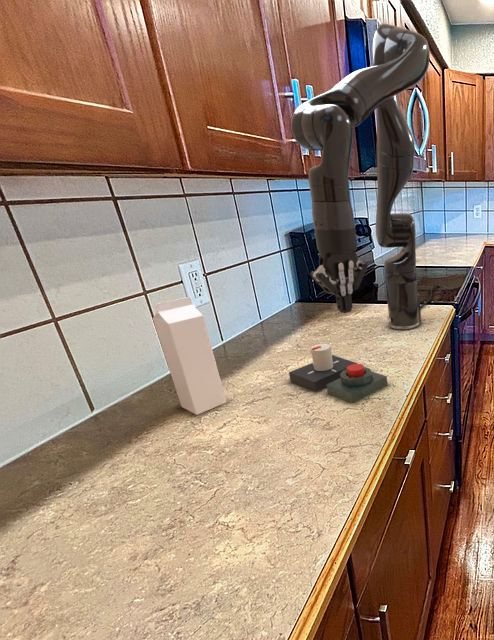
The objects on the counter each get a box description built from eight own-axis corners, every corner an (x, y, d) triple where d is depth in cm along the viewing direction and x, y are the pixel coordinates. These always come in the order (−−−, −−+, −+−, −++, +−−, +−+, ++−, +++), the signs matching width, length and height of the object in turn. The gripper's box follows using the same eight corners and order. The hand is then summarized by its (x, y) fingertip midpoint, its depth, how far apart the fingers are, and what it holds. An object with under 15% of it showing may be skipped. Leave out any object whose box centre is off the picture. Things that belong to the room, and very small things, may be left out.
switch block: (362, 376, 98) (360, 360, 96) (387, 385, 94) (386, 369, 92) (327, 393, 90) (324, 376, 89) (353, 403, 86) (350, 386, 85)
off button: (357, 369, 93) (356, 362, 92) (368, 373, 91) (367, 366, 91) (344, 375, 90) (343, 368, 90) (355, 379, 89) (354, 372, 88)
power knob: (326, 362, 99) (323, 341, 97) (337, 366, 97) (334, 345, 95) (310, 367, 96) (306, 346, 94) (321, 372, 94) (317, 350, 92)
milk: (227, 402, 87) (199, 298, 78) (196, 415, 82) (163, 306, 73) (211, 395, 90) (182, 294, 81) (180, 407, 85) (146, 301, 76)
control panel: (333, 364, 105) (332, 354, 103) (358, 372, 100) (357, 362, 99) (290, 382, 95) (288, 371, 94) (316, 392, 91) (314, 381, 90)
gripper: (318, 231, 74) (331, 324, 81) (373, 223, 84) (381, 307, 91) (292, 227, 77) (307, 316, 85) (348, 221, 88) (357, 301, 95)
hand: (345, 311), depth 88 cm, fingers closed
